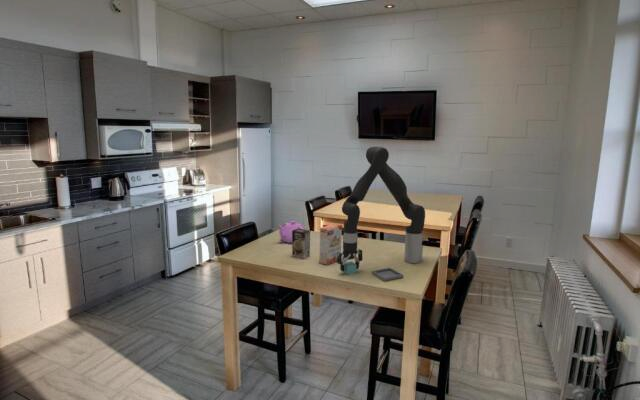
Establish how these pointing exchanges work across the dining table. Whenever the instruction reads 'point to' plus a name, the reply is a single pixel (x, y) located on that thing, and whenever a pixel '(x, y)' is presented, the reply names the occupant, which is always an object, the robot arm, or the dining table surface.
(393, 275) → the tray
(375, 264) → the dining table surface
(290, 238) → the teapot
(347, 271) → the teal cube
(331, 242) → the cracker box
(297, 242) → the coffee box
